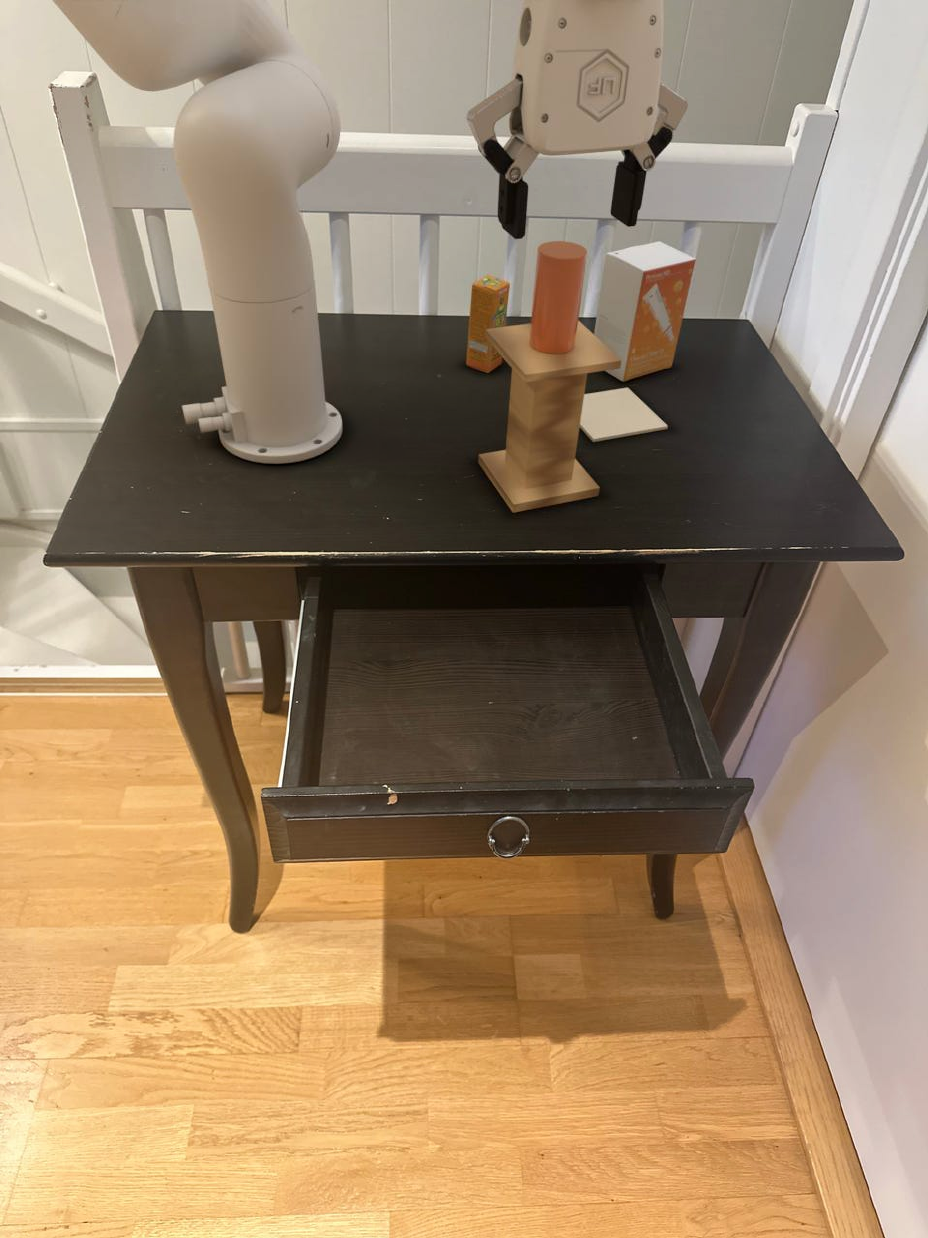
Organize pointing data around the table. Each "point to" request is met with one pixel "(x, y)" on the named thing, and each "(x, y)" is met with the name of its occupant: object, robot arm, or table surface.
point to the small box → (643, 306)
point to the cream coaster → (617, 415)
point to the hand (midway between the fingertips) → (568, 226)
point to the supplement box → (486, 321)
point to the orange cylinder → (557, 296)
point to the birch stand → (544, 419)
